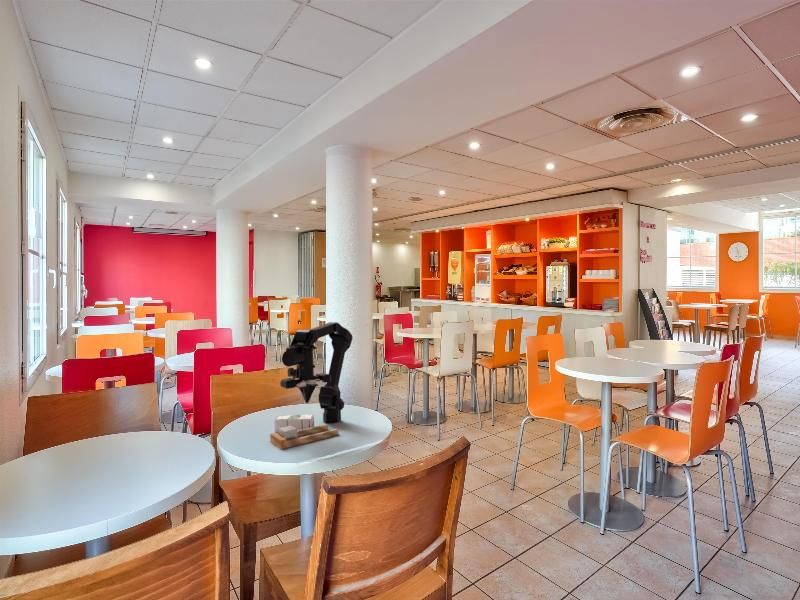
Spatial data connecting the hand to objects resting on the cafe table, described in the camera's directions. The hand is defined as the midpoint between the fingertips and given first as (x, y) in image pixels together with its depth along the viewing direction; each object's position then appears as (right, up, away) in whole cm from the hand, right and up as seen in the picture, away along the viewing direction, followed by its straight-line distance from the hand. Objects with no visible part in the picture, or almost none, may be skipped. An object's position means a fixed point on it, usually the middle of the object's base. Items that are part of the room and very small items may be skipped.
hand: (306, 402), depth 174 cm
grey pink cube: (-5, -12, -10) cm, 16 cm away
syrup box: (-13, -10, +5) cm, 17 cm away
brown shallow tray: (+1, -13, -6) cm, 14 cm away
